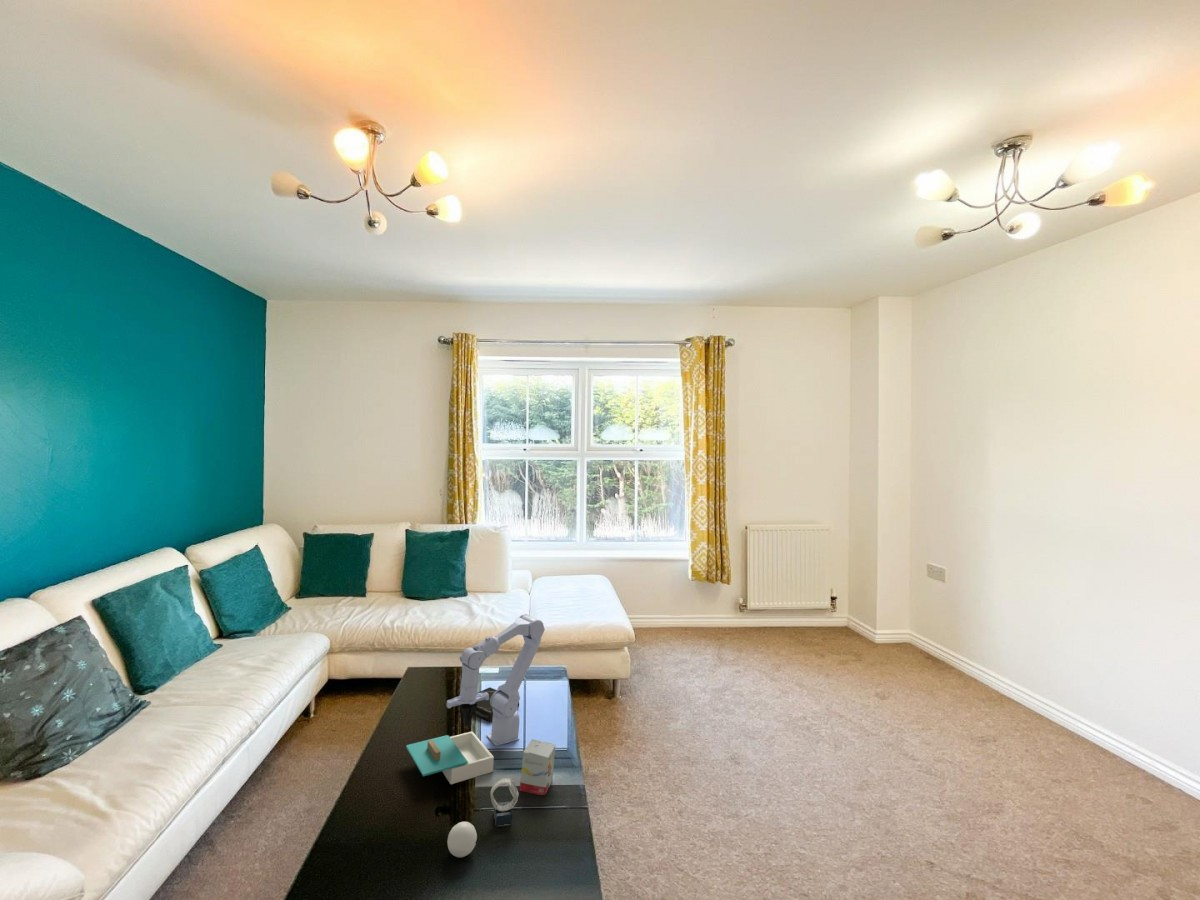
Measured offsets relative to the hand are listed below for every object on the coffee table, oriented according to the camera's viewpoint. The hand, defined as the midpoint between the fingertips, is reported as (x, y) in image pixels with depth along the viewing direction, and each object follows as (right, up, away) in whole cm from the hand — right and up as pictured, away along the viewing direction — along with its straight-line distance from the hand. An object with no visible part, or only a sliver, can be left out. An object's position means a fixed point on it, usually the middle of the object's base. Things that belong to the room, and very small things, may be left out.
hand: (465, 724), depth 177 cm
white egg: (+10, -9, -44) cm, 46 cm away
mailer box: (0, -9, -7) cm, 12 cm away
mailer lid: (-6, -4, -12) cm, 14 cm away
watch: (+19, -10, -32) cm, 38 cm away
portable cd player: (+1, -11, +32) cm, 34 cm away
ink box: (+26, -11, -15) cm, 32 cm away
